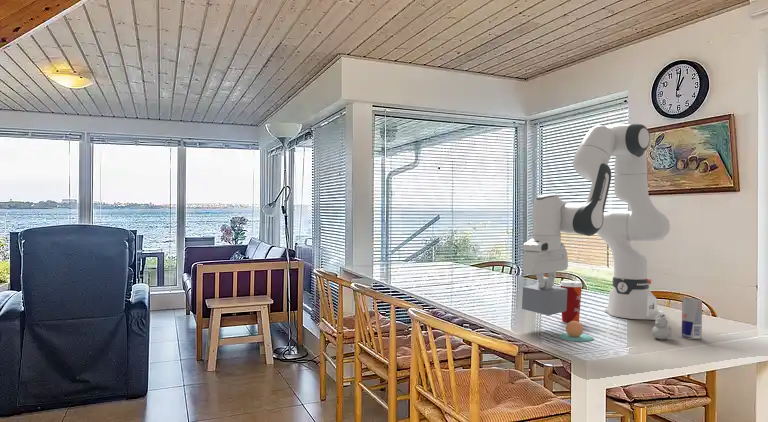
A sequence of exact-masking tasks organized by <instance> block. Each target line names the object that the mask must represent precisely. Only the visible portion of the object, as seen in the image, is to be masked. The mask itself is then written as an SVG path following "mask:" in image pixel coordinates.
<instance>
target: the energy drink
mask: <svg viewBox="0 0 768 422" xmlns="http://www.w3.org/2000/svg"><path fill="white" fill-rule="evenodd" d="M702 327H703V301H702V299H700V298H696V297H694V298H693V297H683V299H682V301H681V337H682V338H683V337H685V338H684V339H686V338H690V339H689V340H692V339H700V340H701V339H702V333H703V331H702V330H703V328H702Z"/></svg>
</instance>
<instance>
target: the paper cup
mask: <svg viewBox="0 0 768 422" xmlns="http://www.w3.org/2000/svg"><path fill="white" fill-rule="evenodd" d="M559 287H561V288H566V289H567V309H566V311H565V312H561V320H562V322H563V323H566V324H568V323H569V322H571V321H577V322H579V323H580V315H581V314H580V313H581V302H582V301H581V300H582V288H583V284H582V282H581V281H578V280H561V281H560V283H559Z"/></svg>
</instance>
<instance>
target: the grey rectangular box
mask: <svg viewBox="0 0 768 422" xmlns="http://www.w3.org/2000/svg"><path fill="white" fill-rule="evenodd" d="M543 278H544V281H545V282H546V287H543V288H542V287H539V283H536V284H530V285H525V286H522V296H521V297H522V303H521V310H525V311H530V312H533V313H537V314H541V315H546V316H552V315H556V314H559V313H561V314H562V312H565V311H566V309H567V289H566V288H561V286H556V285H553V286H552V278H549V276H548V277H546V276H544V277H543Z"/></svg>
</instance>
